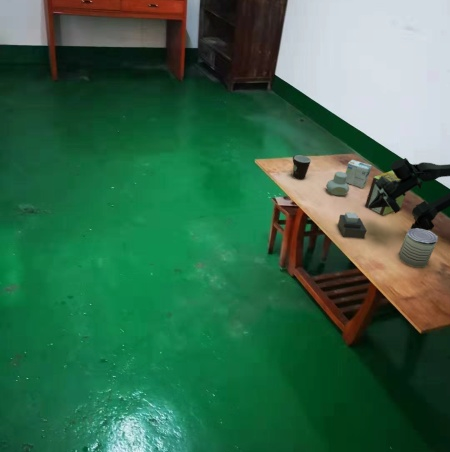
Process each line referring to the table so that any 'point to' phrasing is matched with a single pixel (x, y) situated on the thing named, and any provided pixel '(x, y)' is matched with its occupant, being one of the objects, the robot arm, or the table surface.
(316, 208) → the table surface
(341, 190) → the air freshener
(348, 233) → the stepped grey pedestal
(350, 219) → the pad
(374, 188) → the protein box
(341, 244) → the table surface
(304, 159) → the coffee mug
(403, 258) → the can
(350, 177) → the light bulb box
